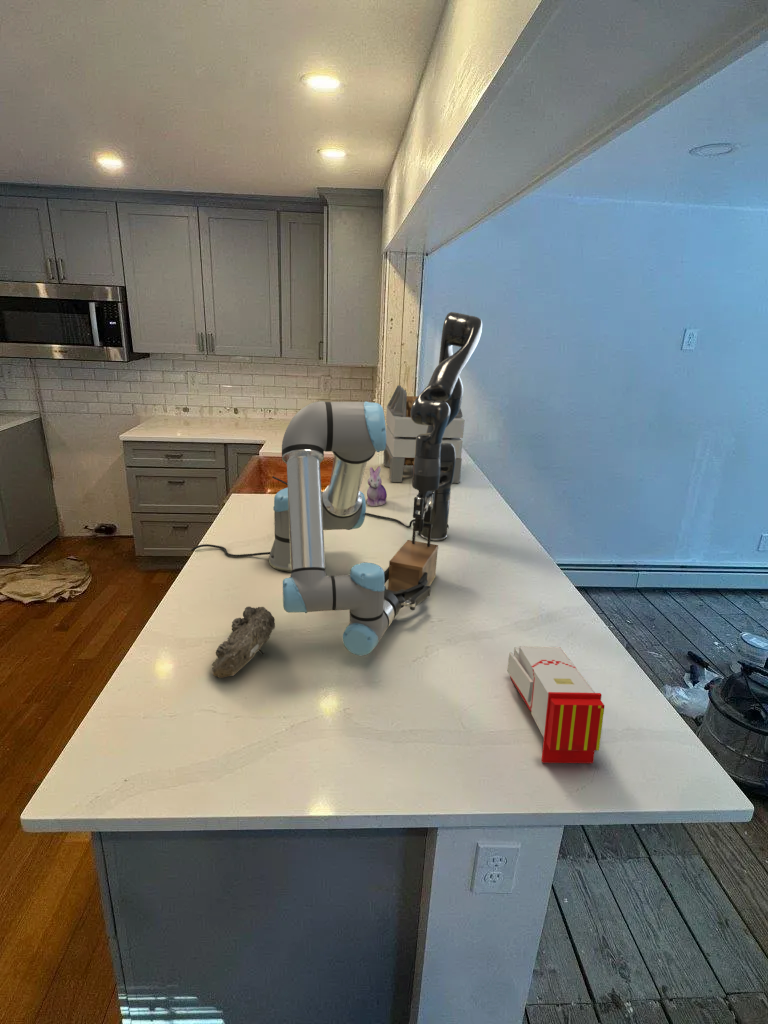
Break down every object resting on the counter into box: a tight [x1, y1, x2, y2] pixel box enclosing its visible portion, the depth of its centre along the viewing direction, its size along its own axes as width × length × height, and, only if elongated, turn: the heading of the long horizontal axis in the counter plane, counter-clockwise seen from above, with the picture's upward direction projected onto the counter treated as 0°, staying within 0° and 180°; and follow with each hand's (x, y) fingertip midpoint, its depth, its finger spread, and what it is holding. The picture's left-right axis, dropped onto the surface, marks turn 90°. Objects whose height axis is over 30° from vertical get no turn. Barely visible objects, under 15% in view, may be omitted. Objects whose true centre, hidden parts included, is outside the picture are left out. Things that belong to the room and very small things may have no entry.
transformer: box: [383, 384, 465, 484], centre depth 268 cm, size 34×33×41 cm
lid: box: [388, 521, 439, 571], centre depth 159 cm, size 17×9×8 cm, turn 160°
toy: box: [506, 645, 605, 764], centre depth 112 cm, size 12×13×30 cm
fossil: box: [211, 606, 276, 679], centre depth 126 cm, size 22×10×15 cm
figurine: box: [365, 466, 388, 507], centre depth 227 cm, size 9×10×15 cm
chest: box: [387, 548, 439, 591], centre depth 162 cm, size 16×9×9 cm, turn 160°
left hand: (408, 573), depth 157 cm, fingers closed on chest, 9 cm apart
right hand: (422, 525), depth 163 cm, fingers open, 8 cm apart
